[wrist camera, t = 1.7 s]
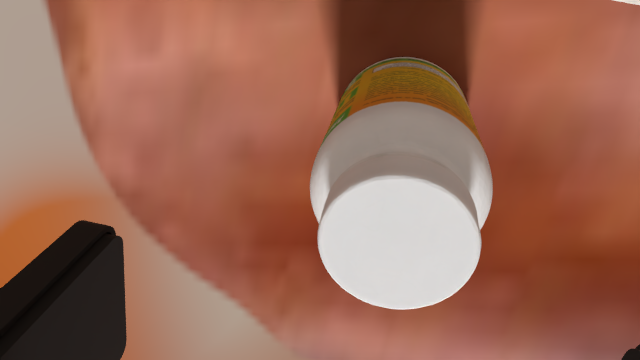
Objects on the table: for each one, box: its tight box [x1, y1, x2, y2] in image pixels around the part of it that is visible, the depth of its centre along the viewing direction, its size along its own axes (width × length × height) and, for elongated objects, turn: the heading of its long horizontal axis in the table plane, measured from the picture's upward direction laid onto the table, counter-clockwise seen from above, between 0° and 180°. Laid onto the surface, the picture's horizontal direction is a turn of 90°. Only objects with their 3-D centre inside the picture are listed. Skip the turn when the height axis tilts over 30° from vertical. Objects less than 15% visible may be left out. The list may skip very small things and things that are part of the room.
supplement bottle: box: [310, 57, 492, 309], centre depth 16 cm, size 5×5×10 cm
